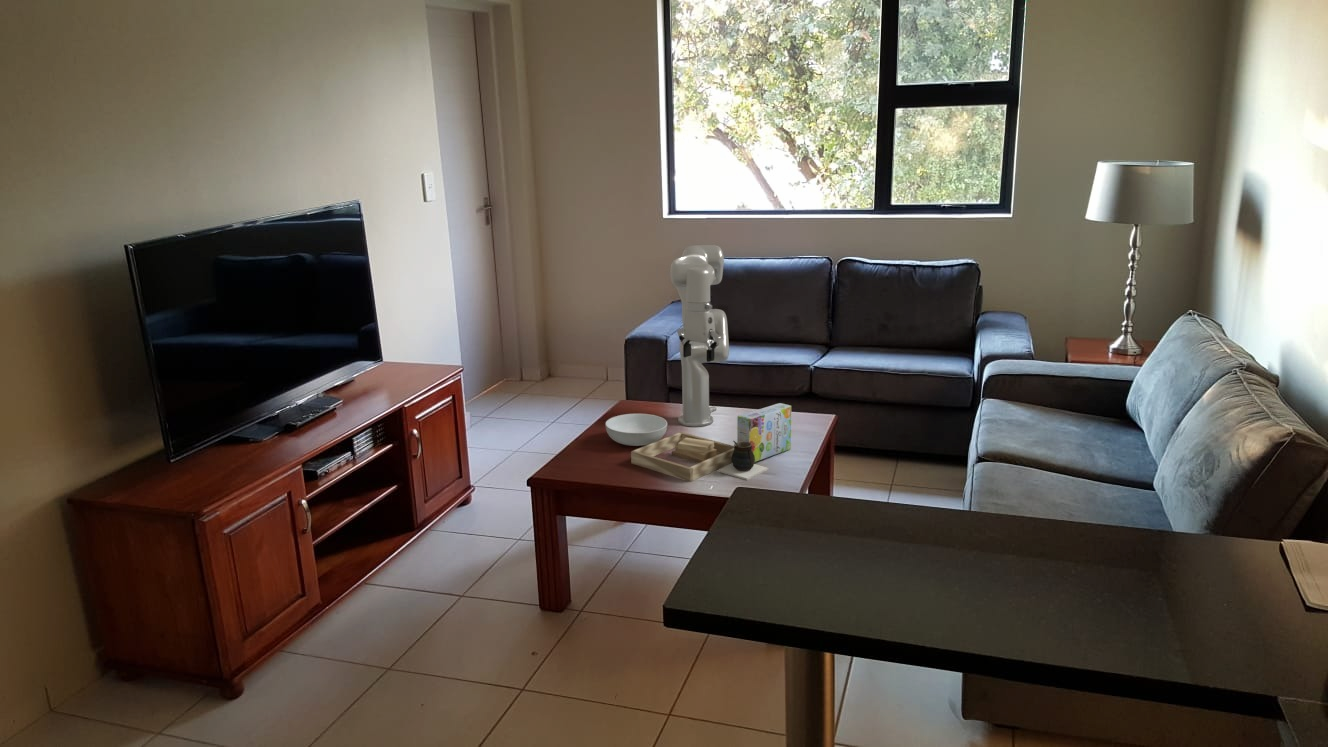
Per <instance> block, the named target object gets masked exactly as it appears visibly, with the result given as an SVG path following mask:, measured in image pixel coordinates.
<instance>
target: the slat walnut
mask: <svg viewBox="0 0 1328 747" xmlns="http://www.w3.org/2000/svg"><path fill="white" fill-rule="evenodd" d="M671 456H674V457H676V458H680V459H683V460H685V461H689V462H694V463H695V464H696V463H697V464H698V463H701V462H703V460H700V459H696V458H693V457H690V456H686V455H683V454H680V453H676V452H675V450H673V451H671ZM716 456H717V455H716ZM709 459H710V458H709ZM704 461H705V460H704Z"/></svg>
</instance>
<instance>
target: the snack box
mask: <svg viewBox="0 0 1328 747" xmlns="http://www.w3.org/2000/svg"><path fill="white" fill-rule="evenodd" d="M736 419H737V421H736V422H737V427H736V428H737V436H736V438H737V439H736V440H737V442H741V441H745V442H750V443H751V444H752V451H753V454H754V457H755V462H754V463H756V462H758V461H761V460H764V459H767V458H769V457H773V456H775V455H778V454H780V453H783V452H786V451H789V450H791V449H792V405H789V404H785V403H783V402H782V403H781V402H779V403H775V404H772V405H769V406H766V407H763V408H759V409H756V410H753V411H750V412H746V413H743V414H740V415H737V418H736ZM737 442H736V443H737Z"/></svg>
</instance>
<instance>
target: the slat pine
mask: <svg viewBox="0 0 1328 747" xmlns="http://www.w3.org/2000/svg"><path fill="white" fill-rule="evenodd" d="M712 448H714V442H712V441H706V440H699V439H692V438H685V439H683V440H682V441H681V442H679V443H678V449H684V450H691V451H697V452H704V453H707V452H709V451H710V450H711V449H712Z"/></svg>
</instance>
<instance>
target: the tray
mask: <svg viewBox="0 0 1328 747" xmlns="http://www.w3.org/2000/svg"><path fill="white" fill-rule="evenodd" d="M685 438H692V439H699V440H706V441H712V442H714V449H717V456H714V457H712V458H710V459H707V460H705V461H703V462H701V463H697V464H696V463H695V464H694V465H692V466H687V465H684V464H680V463H677V462H674V461H671V460H670V461H669V460H667V459H663V458H661V457H657V455H660V454H662V453H663V454H664V452H668V451H670V450H673V449H675V446H678V443H679V442H681V441H682V440H683V439H685ZM733 451H734V445H732V444H729V443H724V442H721V441H716V440H712V439H709V438H705V437H701V436H698V435H695V434H691V433H686V432H683V431H680V432H677V433H674V434H672V435H670V436H667V437H664V438H661V439H660V440H658V441H656V442H654V443H652V444H648V445H643V446H641V447H639V448H636V449H634V450H632V451H630V456H631V457H630V458H631V459H630V460H631V461H630V462H631V463H630V464H632V465H634V466H635V465H636V466H638V467H642V468H645V469H648V470H651V471H654V472H657V473H661V474H664V475H668V476H671V477H674V478H676V479H680V480H684V481H687V482H690V483H691V482H693V481H695V480H698V479H699V478H701V477H702V478H703V477H704V476H706V475H708V474H710V473H714V471H718V470H719V469H721V468H723V467H725V466H727V465H730V464H732V462H731V457H732V454H733Z"/></svg>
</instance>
